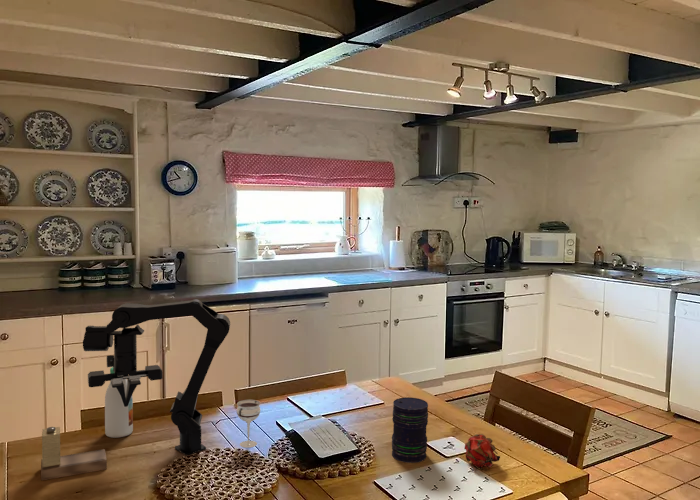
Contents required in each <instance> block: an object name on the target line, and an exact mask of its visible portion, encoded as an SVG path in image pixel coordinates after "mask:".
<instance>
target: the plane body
mask: <svg viewBox="0 0 700 500" xmlns="http://www.w3.org/2000/svg"><path fill="white" fill-rule="evenodd" d="M60 462H61V465H55V466H49V467H43V466H42V459H41V464H40V466H41V467H40V481H45V480H51V479H57V478H64V477H68V476H69V477H70V476H75V475H80V474H86V473H91V472H92V473H93V472H98V471H104V470H108V469H107V468H108V465H107V463H108V460H107V454H106V449H104V448H103V449H97V450H90V451H85V452H78V453H73V454H72V453H71V454H66V455H60Z"/></svg>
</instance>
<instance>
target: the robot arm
mask: <svg viewBox="0 0 700 500" xmlns="http://www.w3.org/2000/svg"><path fill="white" fill-rule="evenodd" d="M188 316H189V317H190V316H192V317H193V318H194V319H196V320H197V321H198V322H199V324H201V325H202V326H203V327H204V328H205V329H207V331H206V335H205V340H204V346H203V348H202V351H201V353H200V354H199V357H198V359H197V362H196V364H195V367H194V369H193V371H192V374H191V376H190V378H189V382H188V383H187V386H186V388H185V389H184V390H183V392H181V391H178V392H177V394H176V396H175V400H174V402H173V403H172V405H171V408H170V410H169V413H171V415H170V419H171V421H172V424H174V425H175V426H176V427H177V429H178V431H179V444H178V445H175V446H174V449H175V450H177V451H178V452H180V453H181V454H183V455H185V456H188V455H192V454H194V453H197V452H200V451H204V450H206V449H207V447H206V446H205V445H203V444H202V426H201V423H202V419H203V414H202V413H201V412H200V411H199V410H198V409H196V405H197V401H198V397H199V393H200V391H201V389H202V386H203V384H204V381H205V379H206V376H207V373H208V371H209V370H210V367H211V364H212V362H213V359H214V358H215V355H216V352H217V350H219V347H220V346H221V344H223V342H224V340H225V339H226V337H227V336H228V334H229V333H230V329H231V321H230V318H229V317H228V316H227V315H225V314H223V313H218V312H216V311H215V310H214V309H213V308H211V307H209V306H207V305H206V304H205V303H203V302H202V301H201V300H199V299H192V300H186V301H183V300H182V301H175V302H167V303H158V304H157V303H156V304H142V303H141V304H140V303H132V302H131V303H129V302H127V303H122V304H121V305H120V306H118V307H117V308H116V309H114V310H113V313H112V315H111V321H110V322H109V323H107V325H102V326H101V325H97V326H95V325H87V326H86V327H85V332H84V334H83V340H82V349H83V351H84V352H108V351H109V348H112V347H113V355H112V354H110V355H106V368H112V367H113V371H114V373H110V372H109V373H105V371H104V370H95V371H89V372H88V374H87V385H88V388H98V387H102V386H104V385H105V383H106V382H108V381H109V382H110V381H111V385H112V388H117V390H118V392H119V393H120V395H121V398H122V401H123V404H124V407H127V406H128V404H129V402H130V399H131V396H132V397H133V394H134V392H135V390H136V388H137V387H138V386H141V384H142V382H141V379H142V378H146V377H147V378H148V380H150V381H159V380H163V379H164V378H163V376H164V375H163V369H162V368H161V366H160V365H158V364H155V365H154V364H153V365H145V367H144V369H142V370H139V369H137V368H138V367H137V366H138V360H137V359H138V357H137V355H138V353H137V349H138V348H137V344H138V343H137V340H138V339H137V337H138V336H141V335H143V334H144V332H145V329H143V328H142V327H140V325H139V324H141V323H145V322H148V321H153V320H154V321H155V320H161V319H162V320H164V319H171V318H172V319H173V318H180V317H188ZM134 326H135V327H134ZM118 329H122V330H118ZM123 379H127V392H126V397H125V389H124V384H123Z"/></svg>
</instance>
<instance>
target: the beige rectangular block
mask: <svg viewBox="0 0 700 500" xmlns="http://www.w3.org/2000/svg"><path fill="white" fill-rule="evenodd" d="M41 432H42V433H41V451H42V452H41V454H42V455H41V456H42V459H41V460H42V466H43V467H49V466H55V465H61V462H60V456H61V427H60V426H49V427H46V428H42V431H41Z"/></svg>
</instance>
